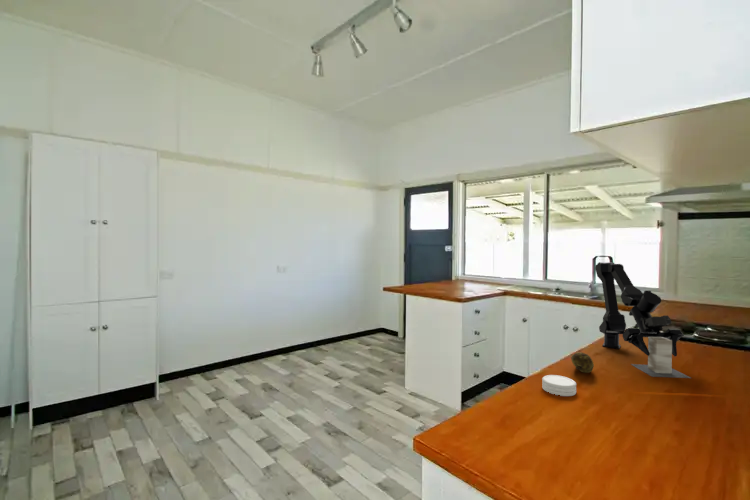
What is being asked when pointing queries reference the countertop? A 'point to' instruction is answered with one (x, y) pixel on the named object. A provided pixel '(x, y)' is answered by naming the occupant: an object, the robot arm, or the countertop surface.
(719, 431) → the countertop surface
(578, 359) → the potato
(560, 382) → the coaster
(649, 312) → the robot arm
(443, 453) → the countertop surface
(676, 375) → the rubber mat
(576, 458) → the countertop surface
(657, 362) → the tall block
